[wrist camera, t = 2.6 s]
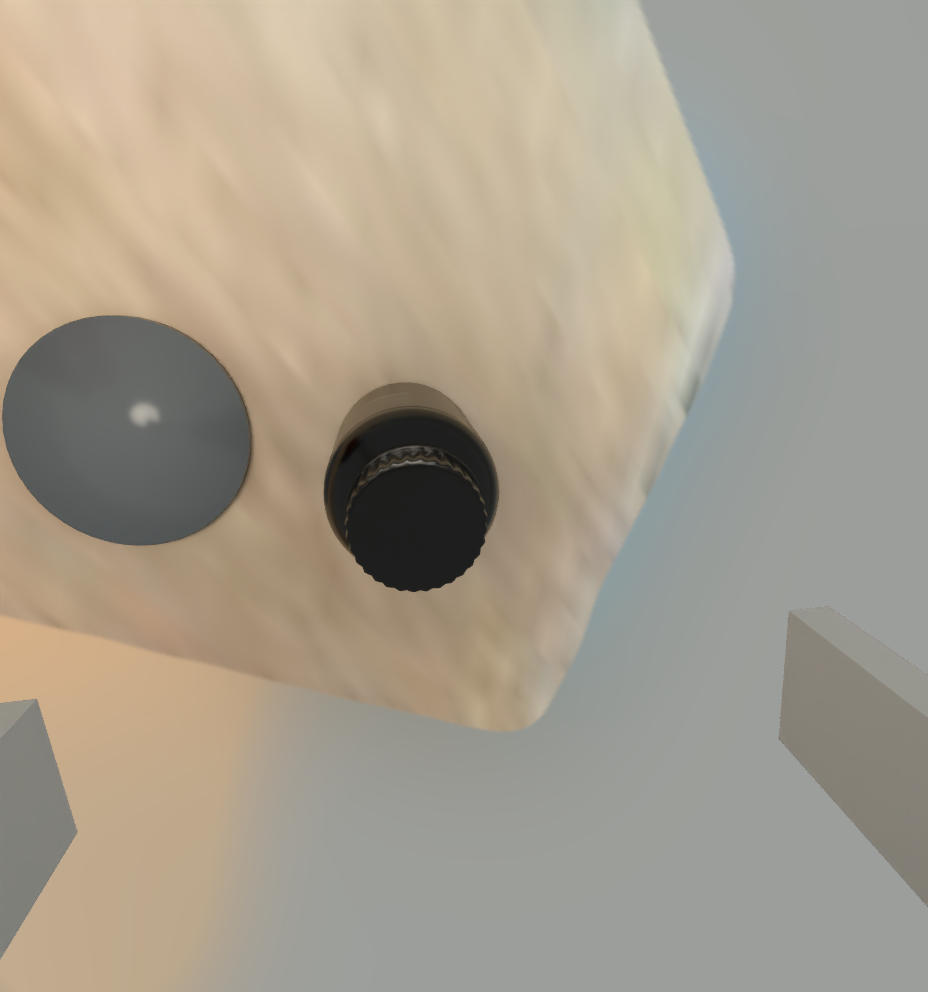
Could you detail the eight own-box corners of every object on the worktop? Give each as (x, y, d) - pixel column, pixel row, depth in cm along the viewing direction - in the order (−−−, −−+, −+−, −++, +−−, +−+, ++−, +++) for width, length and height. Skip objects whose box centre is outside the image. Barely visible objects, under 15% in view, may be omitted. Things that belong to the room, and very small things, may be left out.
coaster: (43, 552, 32) (37, 556, 32) (-20, 325, 29) (-29, 325, 28) (267, 529, 33) (265, 533, 33) (229, 306, 30) (226, 306, 29)
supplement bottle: (333, 507, 33) (302, 613, 22) (343, 373, 31) (314, 412, 20) (465, 518, 34) (501, 626, 23) (482, 389, 32) (531, 435, 21)
